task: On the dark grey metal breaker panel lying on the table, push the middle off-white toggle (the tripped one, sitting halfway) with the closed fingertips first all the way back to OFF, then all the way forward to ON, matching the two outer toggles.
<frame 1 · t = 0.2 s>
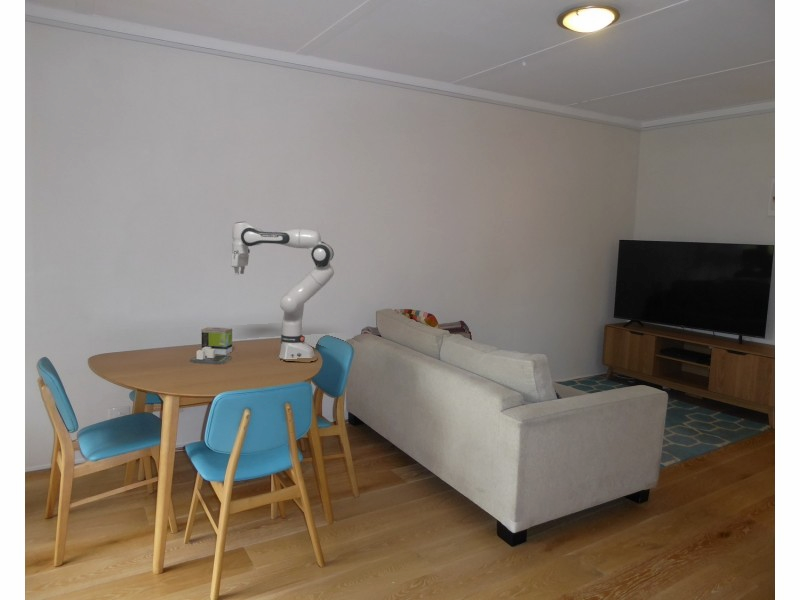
hand: (239, 274, 316), 48 cm above the table, tool pointing down, fingers open, 8 cm apart
tea box: (216, 353, 326), on the table
panel: (211, 360, 307), on the table
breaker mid: (211, 353, 306), point 4 cm above the table, slide at 0.0 cm
breaker 2: (207, 351, 311), point 4 cm above the table, slide at 4.0 cm
breaker 1: (200, 354, 302), point 4 cm above the table, slide at 4.0 cm
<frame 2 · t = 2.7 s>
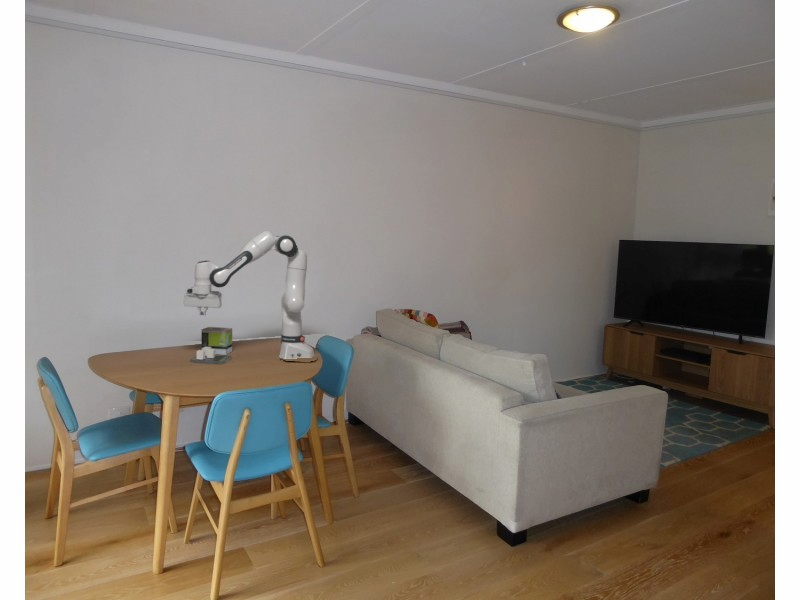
hand: (202, 315, 304), 25 cm above the table, tool pointing down, fingers closed
nothing on the table moved.
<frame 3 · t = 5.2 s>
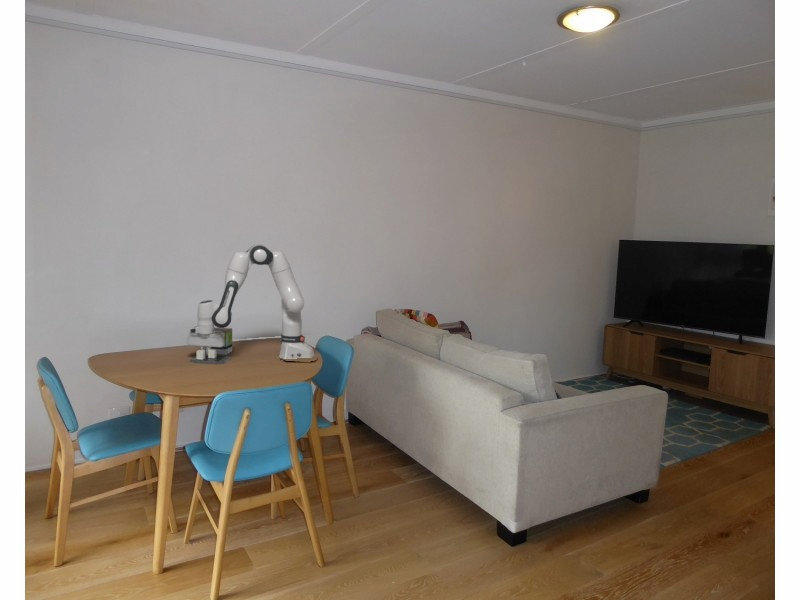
hand: (205, 354, 306), 3 cm above the table, tool pointing down, fingers closed
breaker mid: (212, 353, 306), point 4 cm above the table, slide at -0.7 cm, touching gripper
everything else where it was.
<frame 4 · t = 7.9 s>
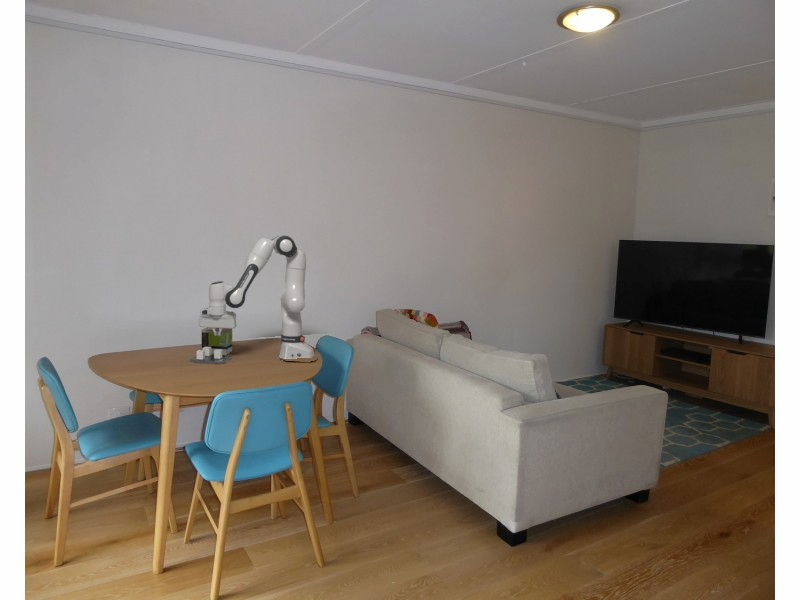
hand: (217, 335, 305), 14 cm above the table, tool pointing down, fingers closed
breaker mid: (218, 353, 306), point 4 cm above the table, slide at -4.1 cm
everything else where it was.
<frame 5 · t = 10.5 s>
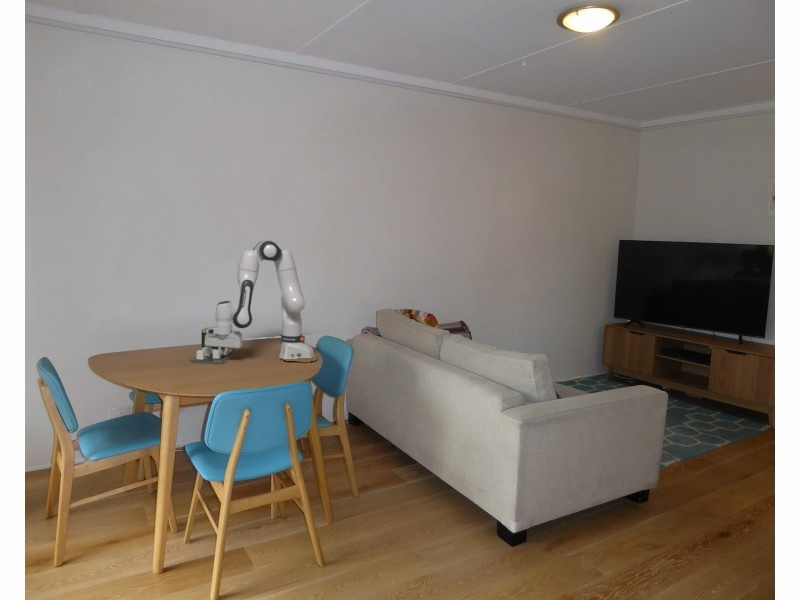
hand: (223, 354, 306), 4 cm above the table, tool pointing down, fingers closed
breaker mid: (216, 353, 306), point 4 cm above the table, slide at -3.2 cm, touching gripper
everything else where it was.
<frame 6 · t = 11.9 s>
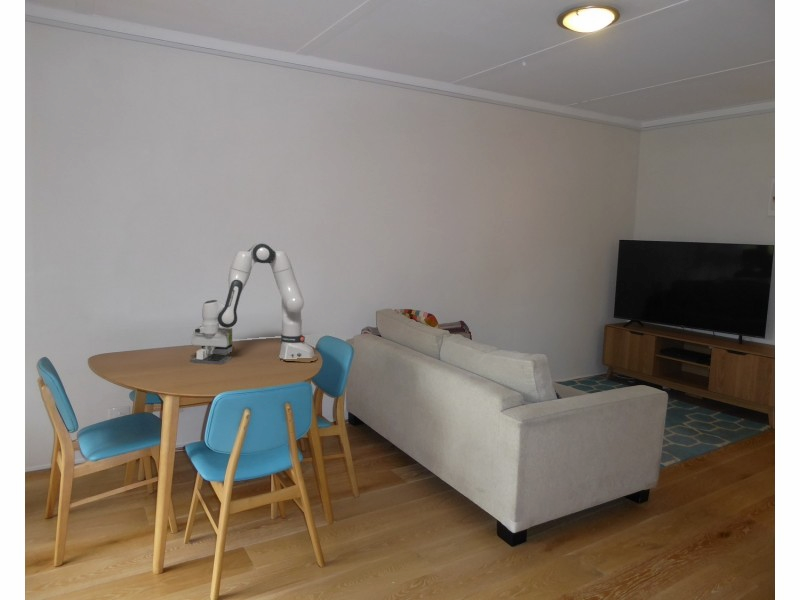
hand: (210, 354, 306), 4 cm above the table, tool pointing down, fingers closed
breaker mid: (203, 353, 306), point 4 cm above the table, slide at 4.1 cm, touching gripper
everything else where it was.
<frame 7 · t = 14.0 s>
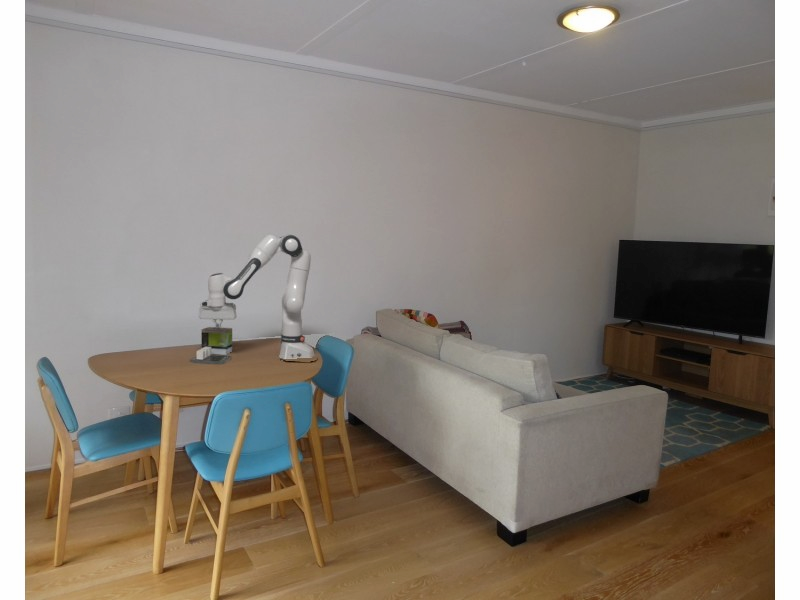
hand: (218, 327, 307), 19 cm above the table, tool pointing down, fingers closed
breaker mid: (204, 353, 306), point 4 cm above the table, slide at 4.1 cm
everything else where it was.
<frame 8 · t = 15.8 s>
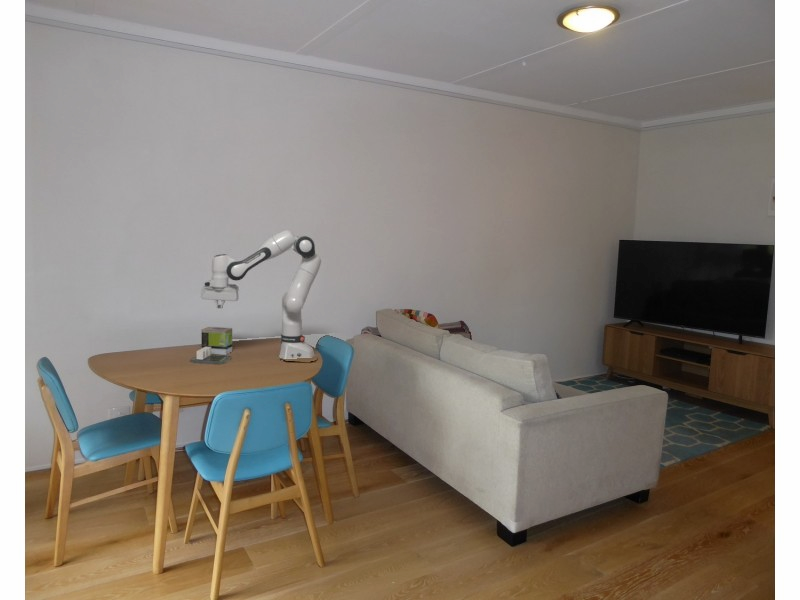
hand: (219, 308, 307), 29 cm above the table, tool pointing down, fingers closed
nothing on the table moved.
at the end: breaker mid slide at 4.1 cm; breaker 2 slide at 4.0 cm; breaker 1 slide at 4.0 cm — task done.
